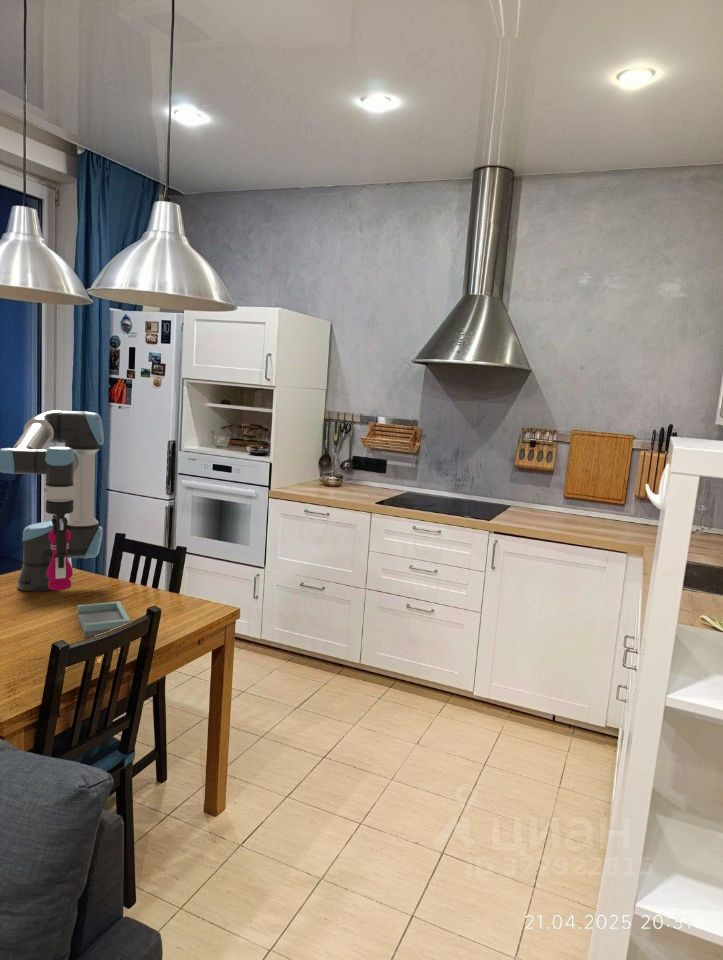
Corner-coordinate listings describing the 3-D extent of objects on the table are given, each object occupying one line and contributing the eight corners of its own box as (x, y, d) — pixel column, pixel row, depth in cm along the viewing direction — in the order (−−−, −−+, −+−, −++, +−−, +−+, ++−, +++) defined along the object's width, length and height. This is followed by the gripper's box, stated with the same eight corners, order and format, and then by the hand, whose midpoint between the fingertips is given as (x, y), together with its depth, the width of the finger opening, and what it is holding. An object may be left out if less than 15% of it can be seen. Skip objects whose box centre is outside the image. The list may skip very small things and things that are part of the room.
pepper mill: (45, 591, 194) (45, 525, 191) (46, 584, 200) (46, 520, 198) (72, 590, 197) (73, 524, 194) (72, 582, 203) (73, 519, 201)
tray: (77, 617, 214) (77, 605, 213) (119, 612, 220) (119, 601, 220) (84, 637, 197) (85, 625, 197) (130, 632, 204) (130, 620, 203)
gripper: (43, 493, 202) (43, 566, 205) (48, 506, 184) (48, 585, 188) (69, 493, 205) (69, 564, 208) (77, 505, 188) (76, 582, 191)
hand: (59, 574), depth 198 cm, fingers closed on pepper mill, 7 cm apart
